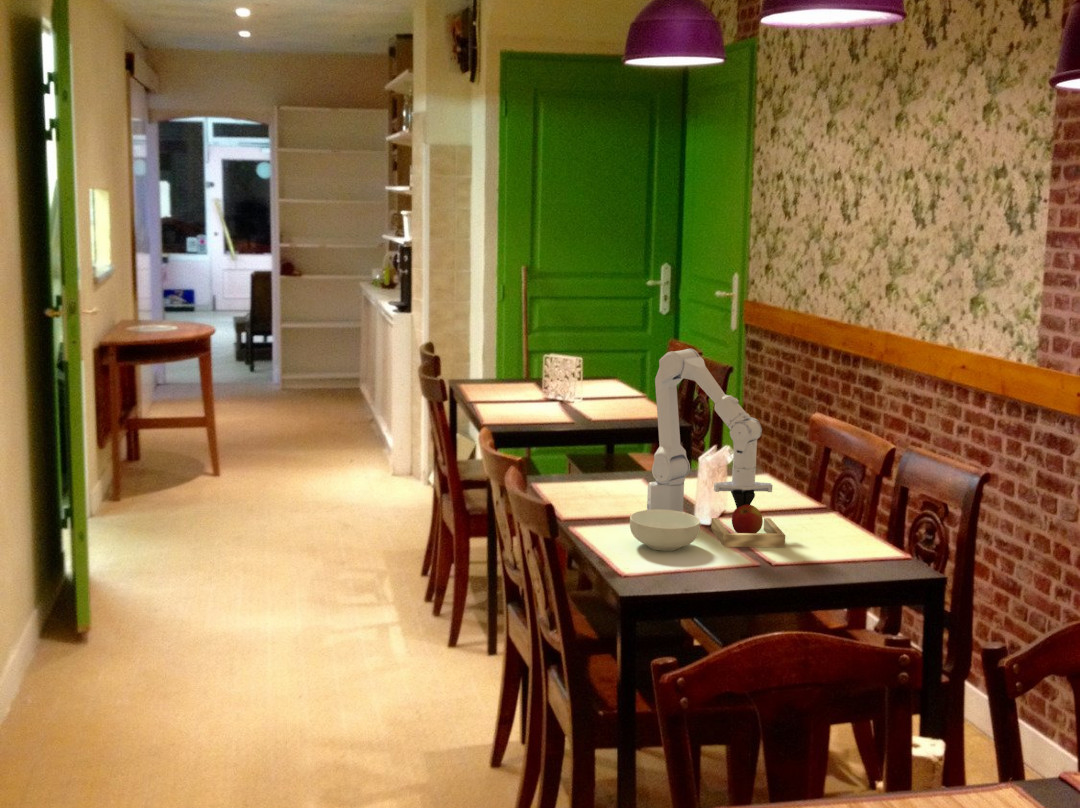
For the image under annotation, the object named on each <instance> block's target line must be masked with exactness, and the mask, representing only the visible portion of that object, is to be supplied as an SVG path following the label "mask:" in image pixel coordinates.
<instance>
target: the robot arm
mask: <svg viewBox="0 0 1080 808" xmlns="http://www.w3.org/2000/svg"><path fill="white" fill-rule="evenodd" d="M658 364H659V367H658V370H657V373H656V376H655V378H654V383H655V398H656V411H657V414H656V415H657V430H658V441H659V443H658V444H659V447H658V448H657V449H656V451H655V452H654V455H653V463H652V467H651V473H652V477H653V478H654V479H655V481H650V482H648V484H647V496H646V497H647V498H646V499H647V500H646V501H647V502H646V510H655V509H659V510H673V511H680V512H684V497H685V495H684V494H685V493H684V492H685V481H686V477H687V476H688V475H689V473H690V470H691V465H690V462H689V461H690V460H688V457H687V451H686V449H685V448H684V447H683V445H681V434H680V433H681V432H680V431H681V430H680V421H679V420H680V419H679V406H678V405H679V402H678V390H677V386H678V385H679V384H680V383H681V381H682V380H683V379H684V380H685V379H686V380H690V381H694V382H695V383H696V384H697V385H698V386H699V388H700V389H702V391H703V392H705V394H706V396H708V397H709V398H710V399H711V401H712V402H713V403H714V409H713V410H714V411H715V412H716V414H717V415H718V417H720V419H721V420H722V422H723V423H724V424H725V425H726V427H727V428H728V429H729V436H730V439H731V440H732V443H733V444H732V445H733V446H732V447H733V453H732V454H733V457H732V458H733V459H732V471H731V473H732V475H731V481H724V482H723V481H722V482H714V483H713V491H714V492H716V493H719V492H731V495H732V497H733V500H734V504H735V507H736V508H735V509H737V508H738V507H740V506H742V505H752V504H751V503H752V502H753V501H754V500H755V497H756V493H755V492H767V493H772V492H773V484H772V483H771V482H761V481H760V482H759V481H756V466H757V453H758V452H757V451H758V450H757V449H758V447H757V446H758V439H760V438H761V436H762V433H763V428H762V425H761V423H760V422H759V420H758V419H756V418H755V417H751V416H750V414H749V413H747V411H745V410H744V409H743V407H742V406H741V405H740V403H739V400H738V398H737V397H734V396H733V395H730V394H729V395H728V394H725V392H724V391H723V389H722V388H721V386H720V385H719V383H718V382H717V381H716V379H715V378H714V376H713V375H712V373H711V372H710V371H709V369H708V367H707V366H706V363H705V360H704V358H703V357H701V356H700V354H699V353H698V351H696V350H695V349H693V348H686V349H682V350H676V351H673V350H672V351H668V352H666V353H665V354H664V355H663V356H661V358H660V359H658Z"/></svg>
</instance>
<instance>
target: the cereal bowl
mask: <svg viewBox="0 0 1080 808" xmlns="http://www.w3.org/2000/svg"><path fill="white" fill-rule="evenodd" d="M629 529H630V532H631V534H632V536H633V537H634V538H635V539H636V540H637V541H638V542H640V543H642V544H644V545H647V548H650V549H652V550H657V551H663V552H667V551H668V552H669V551H676V550H679V549H680V548H683V547H686V546H688V545H690V544H692V543H693V542H694V541H695V540H696V539H697V538H698V536H699V533H700V529H701V519H700V518H699V517H697V516H695V515H693V514H690V513H689V512H688V513H687V512H684V511H683V512H680V511H673V510H659V509H655V510H647V509H644V510H639V511H636V512H633V513H632V514H630V516H629Z"/></svg>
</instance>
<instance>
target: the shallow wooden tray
mask: <svg viewBox="0 0 1080 808" xmlns="http://www.w3.org/2000/svg"><path fill="white" fill-rule="evenodd" d="M710 529H711V531H712V532H713V534H714V535H715V537H716V538H717V540H718V541H719V542H720V544H721V545H722V546H723V548H785V547H786V534H785V533H784V532H783V531H782V529H780V527H779V526H778V525H777V524H776V523H775V522H774V521H773V520H772V518H769V517H767V518H765V517H764V518H763V531H764V532H765V533H763V532H761V533H759V532H757V533H737V532H734V533H733V532H729V531H728V530H727V528H726V527H725V526H724V524H723V523H722V522H721V521H720V519H719V518H718V517H711V527H710Z"/></svg>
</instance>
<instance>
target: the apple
mask: <svg viewBox="0 0 1080 808" xmlns="http://www.w3.org/2000/svg"><path fill="white" fill-rule="evenodd" d="M731 525H732V528H733V530H734V531H735V533H759V532H760V531H761V529H762V527H763V525H764V518H763V515H762V513H761V511H760V510H759V509H758V508H757V507H756V506H755V505H752V504H750V505H742V506H740V507H738V508H735V509H734V511H733V512H732V515H731Z"/></svg>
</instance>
